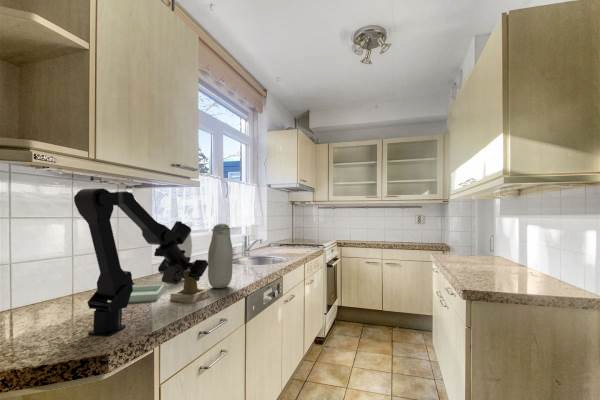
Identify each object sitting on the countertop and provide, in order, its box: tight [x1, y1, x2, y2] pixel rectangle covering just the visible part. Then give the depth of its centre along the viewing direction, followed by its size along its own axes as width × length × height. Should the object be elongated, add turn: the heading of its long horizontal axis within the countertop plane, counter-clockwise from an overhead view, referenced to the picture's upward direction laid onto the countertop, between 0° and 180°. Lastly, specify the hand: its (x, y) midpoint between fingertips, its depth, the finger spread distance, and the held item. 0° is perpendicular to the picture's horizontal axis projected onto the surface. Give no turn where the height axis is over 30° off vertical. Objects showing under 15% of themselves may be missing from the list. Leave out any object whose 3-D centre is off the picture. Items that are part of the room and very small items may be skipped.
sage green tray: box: [128, 284, 166, 304], centre depth 114 cm, size 15×15×2 cm
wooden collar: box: [169, 287, 210, 304], centre depth 113 cm, size 10×10×2 cm
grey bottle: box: [207, 223, 234, 289], centre depth 130 cm, size 10×10×28 cm
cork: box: [182, 269, 198, 295], centre depth 113 cm, size 6×6×11 cm
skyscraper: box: [178, 221, 193, 283], centre depth 145 cm, size 8×8×28 cm
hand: (193, 279), depth 114 cm, fingers closed on cork, 5 cm apart
